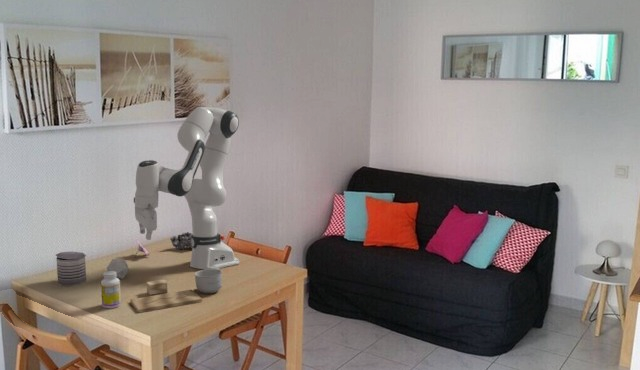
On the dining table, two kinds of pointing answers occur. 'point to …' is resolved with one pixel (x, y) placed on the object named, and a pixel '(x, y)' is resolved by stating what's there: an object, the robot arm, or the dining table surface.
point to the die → (118, 267)
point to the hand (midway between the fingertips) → (145, 236)
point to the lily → (141, 248)
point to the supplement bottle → (110, 290)
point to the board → (165, 300)
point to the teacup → (208, 280)
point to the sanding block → (156, 287)
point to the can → (71, 268)
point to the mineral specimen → (182, 240)
